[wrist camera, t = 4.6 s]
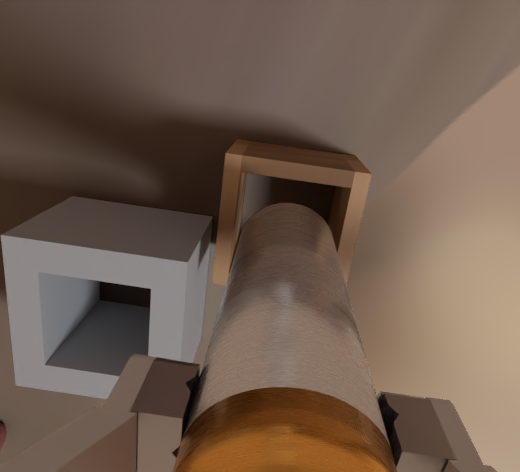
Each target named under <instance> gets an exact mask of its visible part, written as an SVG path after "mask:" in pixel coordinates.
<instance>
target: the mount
mask: <svg viewBox="0 0 520 472" xmlns="http://www.w3.org/2000/svg"><path fill="white" fill-rule="evenodd" d="M247 173H251V174H258V175H265V176H272V177H279V178H285V179H292V180H299V181H306V182H313V183H320V184H327V185H334V186H335V191H334V196H333V201H332V206H331V211H330V216H329V221H328V226H329V228H330V230H331V233H332V236H333V240H334V243H335V247H336V251H337V254H338V258H339V262H340V265H341V269H342V272H343V276H344V280H345V283H347V279H348V275H349V271H350V266H351V262H352V257H353V253H354V249H355V245H356V241H357V236H358V232H359V228H360V224H361V219H362V215H363V211H364V206H365V202H366V198H367V194H368V189H369V185H370V181H371V177H372V174H371V172H370V171H369V170H368V169H367V168H366V167H365V166H364V165H363V164H362V162H361V161H360V160H359V159H358V158H357V157H356V156H353V155H346V154H339V153H332V152H325V151H318V150H311V149H304V148H297V147H290V146H283V145H276V144H269V143H262V142H255V141H248V140H241V139H237V140H236V141H235V142H234V144H233V145H232V146H231V147H230V148H229V149H228V151H227V152H226V153H225V162H224V172H223V182H222V192H221V201H220V211H219V221H218V231H217V241H216V251H215V261H214V270H213V280H212V283H213V284H219V285H226V284H227V280H228V277H229V273H230V270H231V266H232V263H233V259H234V256H235V253H236V249H237V246H238V242H239V239H240V238H239V234H240V226H241V218H242V209H243V201H244V193H245V185H246V177H247Z"/></svg>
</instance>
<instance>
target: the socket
mask: <svg viewBox="0 0 520 472" xmlns="http://www.w3.org/2000/svg"><path fill="white" fill-rule="evenodd" d="M212 221H213V217H212V216H205V215H198V214H192V213H185V212H178V211H171V210H164V209H157V208H150V207H144V206H137V205H130V204H123V203H116V202H109V201H103V200H96V199H89V198H82V197H75V196H72V197H70V198H68V199H66V200H64V201H63V202H61V203H59V204H57V205H55V206H53V207H51V208H50V209H48V210H46V211H44V212H42V213H40V214H38V215H37V216H35V217H33V218H31V219H29V220H27V221H25V222H24V223H22V224H20V225H18V226H16V227H14V228H12V229H11V230H9V231H7V232H5V233H3V234H1V243H2V253H3V263H4V273H5V282H6V292H7V302H8V312H9V321H10V331H11V341H12V351H13V360H14V370H15V380H16V385H17V386H23V387H30V388H37V389H43V390H50V391H56V392H63V393H70V394H76V395H83V396H89V397H96V398H103V399H108V397H109V395H110V393H111V391H112V389H113V388H114V386H115V384H116V382H117V380H118V379H119V377H120V375H121V373H122V371H123V369H124V368H125V366H126V364H127V362H128V360H129V359H130V357H131V356H133V355H134V354H140V355H145V356H151V357H156V358H157V357H159V358H165V359H171V360H177V361H183V362H188V363H193V360H194V357H195V354H196V351H197V348H198V345H199V342H200V339H201V336H202V325H203V315H204V304H205V294H206V284H207V273H208V263H209V252H210V242H211V231H212ZM100 281H102V282H108V283H115V284H122V285H129V286H135V287H142V288H149V289H151V301H150V307H143V306H136V305H129V304H123V303H116V302H109V301H103V300H100Z"/></svg>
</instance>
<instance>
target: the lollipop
mask: <svg viewBox="0 0 520 472" xmlns="http://www.w3.org/2000/svg"><path fill="white" fill-rule="evenodd" d="M6 434H7V431H6V428H5V426H4V425H3V424H1V423H0V450H1V448H2V446H3V444H4V441H5V438H6Z"/></svg>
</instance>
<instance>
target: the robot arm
mask: <svg viewBox="0 0 520 472" xmlns="http://www.w3.org/2000/svg"><path fill="white" fill-rule="evenodd" d="M199 378H200V364H194V363H188V362H183V361H177V360H171V359H165V358H159V357H157V358H156V357H151V356H145V355H140V354H134V355H133V356H131V357H130V359H129V360H128V362H127V364H126V366H125V368H124V369H123V371H122V373H121V375H120V377H119V379H118V380H117V382H116V384H115V386H114V388H113V389H112V391H111V393H110V395H109V397H108V399H107V400H106V402H105V404H104V406H103V408H100V407H94V408H93V409H91V410H89V411H88V412H86V413H85V414H83V415H81V416H80V417H78V418H76V419H75V420H73V421H71V422H70V423H68V424H66V425H65V426H63V427H61V428H60V429H58V430H57V431H55V432H53V433H52V434H50V435H48V436H47V437H45V438H43V439H42V440H40V441H38V442H37V443H35V444H33V445H32V446H30V447H28V448H27V449H25V450H24V451H22V452H20V453H19V454H17V455H15V456H14V457H12V458H10V459H9V460H7V461H5V462H4V463H2V464H0V472H173V468H174V465H175V461H176V458H177V454H178V451H179V447H180V444H181V441H182V437H183V434H184V431H185V427H186V424H187V420H188V417H189V413H190V409H191V406H192V402H193V399H194V396H195V392H196V389H197V385H198V382H199ZM377 400H378V403H379V407H380V411H381V414H382V418H383V422H384V425H385V429H386V432H387V436H388V440H389V443H390V447H391V451H392V454H393V458H394V462H395V465H396V469H397V472H497V471H496V470H495V469H494V468H492V467H491V466H486V465H483V463H482V461H481V459H480V457H479V455H478V453H477V451H476V449H475V447H474V445H473V443H472V441H471V439H470V437H469V435H468V433H467V431H466V429H465V427H464V425H463V423H462V421H461V419H460V417H459V415H458V413H457V411H456V409H455V407H454V405H453V404H452V403H451V402H450V401H449V400H443V399H435V398H423V397H416V396H410V395H403V394H395V393H388V392H380V393H379V394H378V396H377Z"/></svg>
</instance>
